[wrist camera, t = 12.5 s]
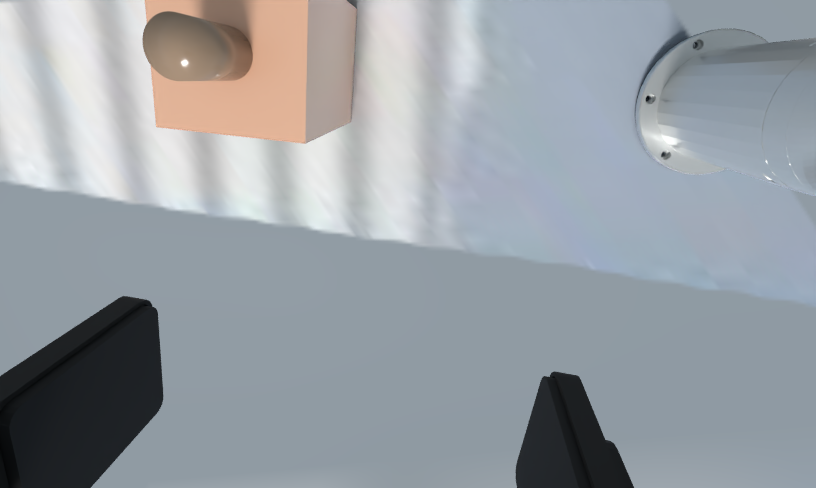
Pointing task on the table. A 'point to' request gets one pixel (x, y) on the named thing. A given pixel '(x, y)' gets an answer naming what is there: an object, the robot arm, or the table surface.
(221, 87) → the cover
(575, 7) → the table surface
